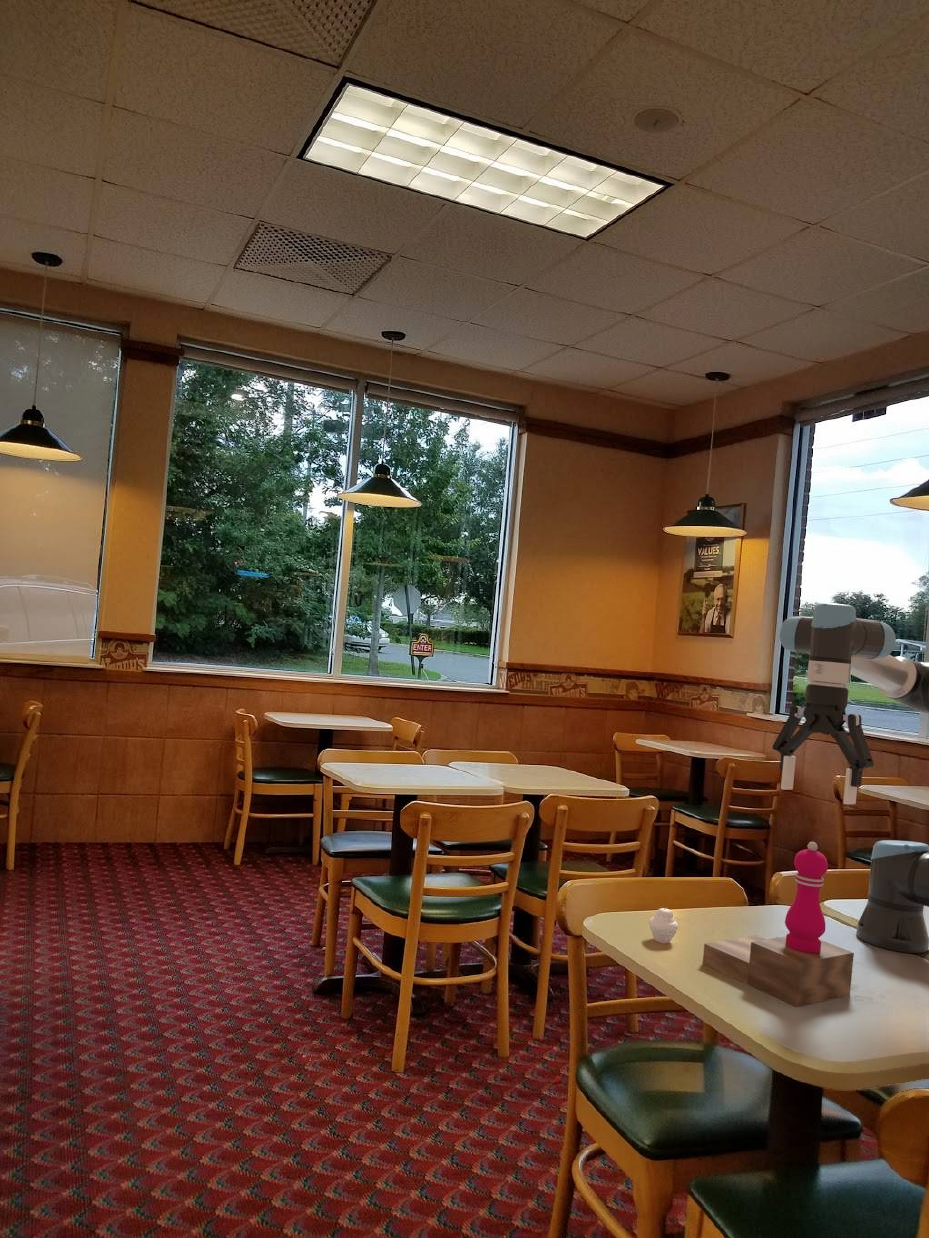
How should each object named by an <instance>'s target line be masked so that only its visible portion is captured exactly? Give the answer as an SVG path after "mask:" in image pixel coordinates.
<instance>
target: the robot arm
mask: <svg viewBox="0 0 929 1238" xmlns="http://www.w3.org/2000/svg"><path fill="white" fill-rule="evenodd" d="M856 612H857V610H856V607H854V606H853V605H850V604H843V603H842V604H841V603H827V602H826V603H825V602H824V603H823V602H822V603H818V604H816V605H815V606H814V610H813V615H812V616H805V615H802V616H800V615H799V616H798V615H797V616H790V617H788V618H786V619H785V620H783V622H782V624H781V626H780V627H781V628H780V630H779V640H780V643H781V645H782V647H783V648H784V650H786V651H789V652H793V653H796V654H799V653H801V654H802V653H803V654H807V655H809V656H808V665H807V666H808V667H807V668H808V669H807V679H806V680H807V682H810V683H808V684H807V685H806V687H805V696H804V697H805V698H804V701H805V708H804V707H803V705H802V706H799V705H792V706H790V708H789V714H788V718H787V719H786V721H785V722H784V724H783V726H782V728H781V730H780V732H779V733H778V735H777V737H776V739H775V741H774V742H773V744H772V749H773V751H777V752H778V753H779V754H780V762H779V770H780V772H782V773H781V783H780V784H781V785H780V789H781V790H786V791H787V790H789V791H791V790H793V789H794V780H795V779H794V778H795V769H796V757H797V756H795V754H794V753H795V752H796V751H797V750H798V748H799V747H800V746H801V745H803V743H804V742H805V741H807V739H808V738H809V737H810V736H811V735H812V734H815V733H817V734H822V735H829V736H830V737H832V738H833V739H834V740H835V742H836V743H837V745H838V747H839V749H840V750H841V753H843V756H844V757H845V759H846V761H847V763H848V764H849V766H848V767H847V768H846V769H845V770H846V771H845V778H844V779H845V781H844V791H843V801H842V802H843V803H842V805H843V804H844V805H856V803H857V793H858V788H860V787H861V785H862V780H863V771H864V770H865V769H867V768H873V767H874V766H875V763H874V760H873V757H872V753H871V750H870V748H869V745H868V742H867V739H866V736H865V733H864V730H863V728H862V727H863V726H862V716H861V714H859V713H857V714H853V713H850V714H847V713H846V708H847V706H848V701H849V692H850V691H849V690H848V688H846V686H848V685H850V681H851V675H852V676H853V677H856V678H858V679H860V680H862V681H864V682H866V683H869V684H871V685H873V686H874V687H876V688H877V690H878V691H879V692H880V694H881V695H883V696H885V697H888V699H891V700H893V701H895V702H898V703H900V704H902V705H903V706H906V707H908V708H911V709H913V710H916V711H918V712H921V713H925V714H929V662H928V661H927V662H926V661H924V662H923V661H916V660H911V659H909V658H907V657H903V656H893V655H891V653H892V652H893V651H894V649H895V646H896V643H897V641H896V640H897V639H896V633H895V631H894V629H893V628H892V627H891V626H890V625H889V624H887V623H886V622H882V621H880V620H877V619H875V620H874V619H865V618H858V617H857V613H856ZM802 718H804V719H805V721H804V722H803V723H802V724H801V721H802ZM799 724H801V725H800V726H799ZM844 724H846V725H847V729H848V732H849V735H850V738H851V740H850V738H849V736H848V732H847V731H846V728H845V727H844V726H843V725H844ZM798 727H799V729H798V730H797V728H798ZM796 730H797V731H796ZM851 741H852V742H851ZM868 882H869V883H868V884H869V885H868V895H867V901H866V905H865V907H864V910H862V913H861V916H860V918H859V920H858V921H857V925H856V933H855V934H856V936H857V937H858V938H859V939H860V940H862V941H864V942H866V943H868V944H871V945H872V946H875V947H879V948H883V949H885V950H890V951H895V952H902V953H911V954H921V953H923V954H924V953H926V951H927V950H928V948H929V934H928V933H929V932H928V928H927V924H926V921H925V917H924V916H925V915H924V907H927V908H929V844H927V843H924V842H917V841H909V840H896V839H895V840H893V839H892V840H891V839H890V840H889V839H888V840H886V839H885V840H878V841H876V842H875V843H874V845H873V846H872V853H871V857H870V871H869V880H868ZM928 951H929V950H928ZM928 951H927V952H928Z"/></svg>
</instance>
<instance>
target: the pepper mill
mask: <svg viewBox="0 0 929 1238" xmlns="http://www.w3.org/2000/svg"><path fill="white" fill-rule="evenodd" d="M818 848H819V847H818V844H817V843H816V842H814V841H809V842H808V844H807V849H802V850H800V851H798V852H797V853H796V854H795V857H794V860H793V865H794V868H795V870H796V871H797V873H795V879H794V880H795V882H796V883H797V884H796V885H797V889H796V895H795V897H794V899H793V902H792V903H791V905H790V907H789V909H788V910H787V913H786V914H785V920H784V924H785V928H786V929H787V930H788V933H786V935H785V937H786V945H787V946H788V947H790V948H792V949H794V950H797V951H801V952H806V953H818V952H820V951H821V941H820V940H821V939H820V938H821V937H822V936H823V935H824V934H825V932H826V919H825V916H824V913H823V911H822V907H821V902H820V892H821V887H823V886H824V881H825V879H824V877H823V876H824V875H825V874H826V873H827V871H828V869H829V863H828V860H827V857H826V856H825V855H824V854H823V853H822V852H820V851H818Z"/></svg>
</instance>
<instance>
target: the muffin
mask: <svg viewBox="0 0 929 1238" xmlns="http://www.w3.org/2000/svg"><path fill="white" fill-rule="evenodd" d="M648 925H649V930H650V932H651V935H652V937H653V940H654V941H655V940H656V941H655V942H657V941H658V942H657V943H659V942H662V943H661V944H670V943H671V941H672V940H673V938H674V937H675V935H676V934H677V931H678V929H679V924H678V922H677V920H675V917H674V913H673V912H672V910H671V909H668V908H666V907H664V908H663V907H661V908H658V909H657V910H656V912H655V914H654V915H653V916H652V917H650V919H649V920H648ZM669 942H670V943H669Z"/></svg>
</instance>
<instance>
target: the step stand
mask: <svg viewBox="0 0 929 1238" xmlns="http://www.w3.org/2000/svg"><path fill="white" fill-rule="evenodd" d="M819 940H820V941H821V951H820V952H818V953H806V952H801V951H797V950H794V949H792V948H790V947H788V946H787V945H786V936H781V937H774V938H767V939H766V938H765V937H761V936H759V935H751V936H744V937H739V938H731V939H726V940H724V939H723V940H717V941H712V942H706V943H703V954H702V956H703V957H702V964H703V965H705V966H707V967H709V968H711V969H714V970H715V971H717V972H720V973H722V974H724V975H727V976H729V977H731V978H733V979H735V980H737V981H739V982H741V983H744V984H746V985H748V986H750V987H752V988H755V989H757V990H759V991H761V992H763V993H765V994H767V995H770V996H772V997H774V998H776V999H779V1000H780V1001H782V1002H785V1003H787V1004H790V1005H791V1006H793V1007H795V1008H799V1007H803V1006H808V1005H813V1004H817V1003H821V1002H822V1003H823V1002H827V1001H830V1000H834V999H839V998H844V997H849V996H851V989H852V988H851V986H852V976H853V968H854V967H853V965H854V957H855V956H854V955H855V952H853V951H850V950H847V949H845V948H843V947H840V946H837V945H834V944H833V943H829V942H827V941H824V940H821V939H819Z"/></svg>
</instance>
